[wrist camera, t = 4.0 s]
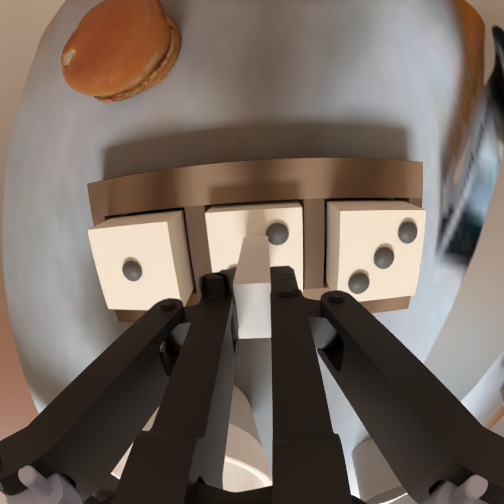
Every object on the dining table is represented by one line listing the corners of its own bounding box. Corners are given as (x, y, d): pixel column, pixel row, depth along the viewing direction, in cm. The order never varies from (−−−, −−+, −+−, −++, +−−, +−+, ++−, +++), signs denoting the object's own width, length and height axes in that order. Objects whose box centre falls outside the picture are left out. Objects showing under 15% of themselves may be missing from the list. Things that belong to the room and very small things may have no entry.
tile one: (127, 288, 21) (107, 310, 18) (111, 217, 19) (85, 230, 16) (194, 287, 21) (182, 312, 17) (183, 209, 19) (165, 222, 15)
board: (129, 307, 24) (118, 321, 22) (102, 180, 20) (87, 183, 18) (397, 295, 23) (407, 308, 20) (407, 160, 19) (422, 162, 16)
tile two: (222, 277, 22) (215, 299, 19) (214, 203, 20) (204, 213, 17) (297, 273, 22) (303, 295, 18) (295, 198, 20) (302, 207, 16)
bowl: (114, 412, 31) (88, 468, 21) (125, 317, 25) (71, 392, 14) (239, 454, 33) (234, 514, 23) (303, 380, 26) (314, 467, 16)
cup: (369, 433, 30) (384, 488, 21) (409, 430, 31) (427, 478, 21) (342, 459, 33) (351, 508, 24) (381, 457, 34) (393, 500, 24)
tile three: (325, 280, 20) (336, 305, 17) (326, 201, 18) (341, 211, 15) (395, 274, 20) (416, 296, 17) (402, 200, 18) (427, 210, 15)
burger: (202, 56, 17) (187, 33, 12) (110, 125, 19) (77, 122, 14) (150, -8, 14) (130, -32, 10) (72, 55, 16) (41, 45, 12)
